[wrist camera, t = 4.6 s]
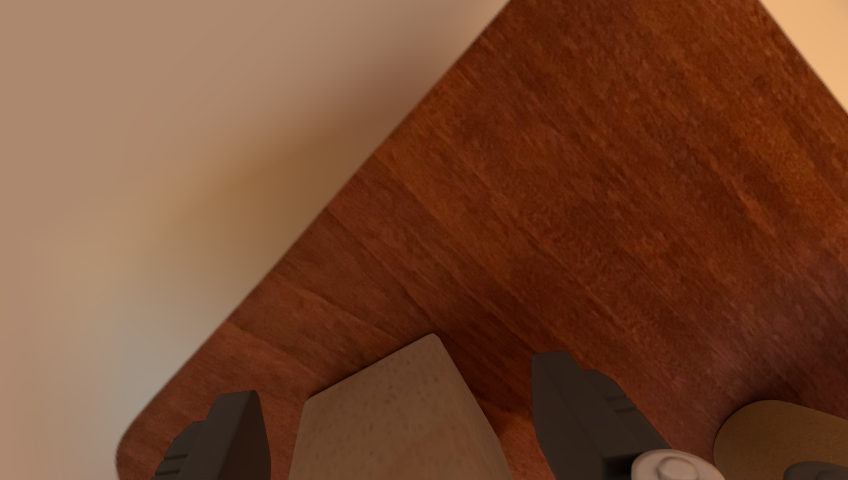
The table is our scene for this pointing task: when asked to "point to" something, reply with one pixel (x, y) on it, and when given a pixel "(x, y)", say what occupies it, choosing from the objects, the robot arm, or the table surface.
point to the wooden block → (399, 424)
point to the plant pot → (777, 440)
